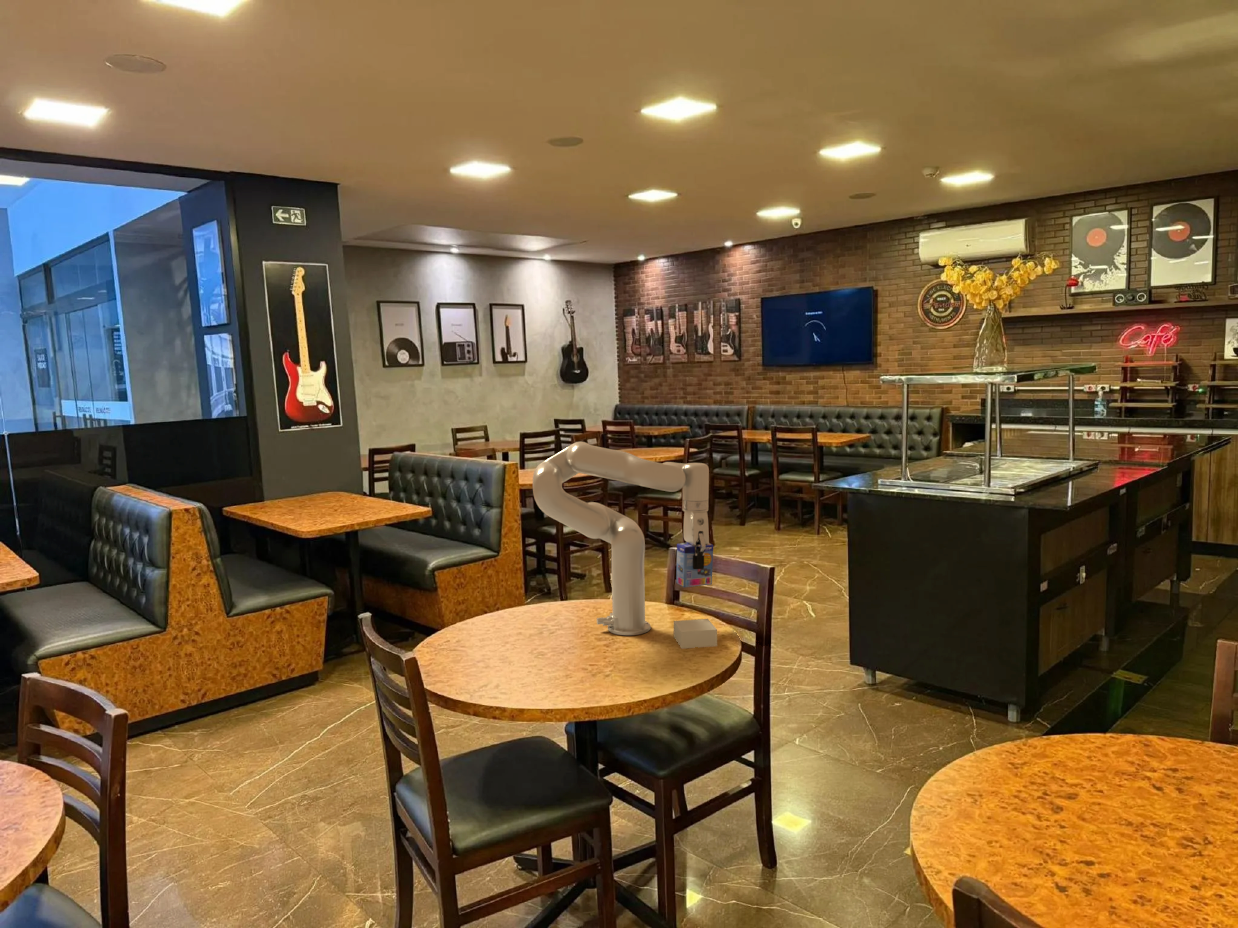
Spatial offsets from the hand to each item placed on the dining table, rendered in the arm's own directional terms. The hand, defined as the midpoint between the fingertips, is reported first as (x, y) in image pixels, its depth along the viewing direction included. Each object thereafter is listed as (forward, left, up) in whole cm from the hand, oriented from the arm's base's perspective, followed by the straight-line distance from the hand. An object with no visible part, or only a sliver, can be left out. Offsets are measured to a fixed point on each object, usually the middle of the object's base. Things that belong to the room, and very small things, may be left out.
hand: (694, 565), depth 248 cm
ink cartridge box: (0, 0, -6) cm, 6 cm away
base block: (-5, -13, -19) cm, 23 cm away
